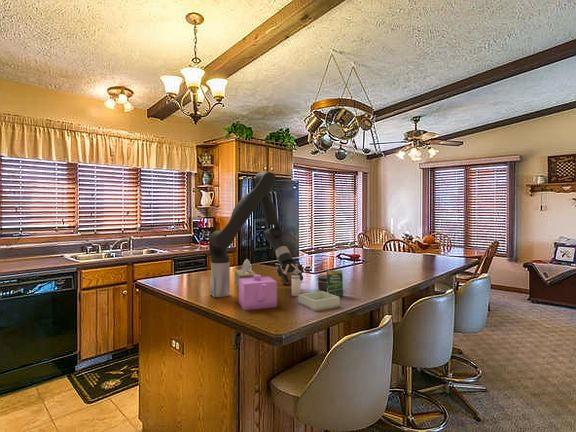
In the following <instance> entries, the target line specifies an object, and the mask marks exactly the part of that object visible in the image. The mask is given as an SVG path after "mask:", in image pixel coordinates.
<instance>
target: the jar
mask: <svg viewBox="0 0 576 432" xmlns="http://www.w3.org/2000/svg"><path fill="white" fill-rule="evenodd" d="M317 287H318V292H319V291H324V292H326V293H327V274H322V275H321V274H320V275H319V276H318V277H317Z"/></svg>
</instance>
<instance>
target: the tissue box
mask: <svg viewBox="0 0 576 432" xmlns="http://www.w3.org/2000/svg"><path fill="white" fill-rule="evenodd" d="M241 266H242V267H241V269H234V284H235V285H236V286H237V288H238V289H239V278H253V275H258V274H257V273H256V272H254V271H253V270H252V267H253V264H251V261H250V260H249V259H248V258H246V259H245V260H244V262H243V263H242V265H241Z"/></svg>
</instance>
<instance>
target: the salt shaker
mask: <svg viewBox="0 0 576 432" xmlns="http://www.w3.org/2000/svg"><path fill="white" fill-rule="evenodd" d="M290 285H291V296H292V297H298V294H301V281H300V275H292V276H291V284H290Z"/></svg>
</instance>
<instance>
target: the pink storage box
mask: <svg viewBox="0 0 576 432" xmlns="http://www.w3.org/2000/svg"><path fill="white" fill-rule="evenodd" d="M238 304H239V305H240V306H241V308H242V309H243V310H244V311H250V310H251V311H252V310H260V309H269V308H270V309H271V308H278V281H276V280H275V279H274V278H272V277H270V276H262V275H261V274H257V275H253V278H239V288H238Z"/></svg>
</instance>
